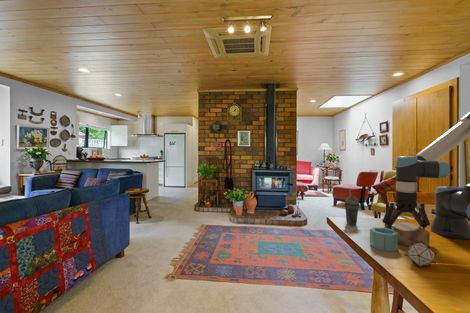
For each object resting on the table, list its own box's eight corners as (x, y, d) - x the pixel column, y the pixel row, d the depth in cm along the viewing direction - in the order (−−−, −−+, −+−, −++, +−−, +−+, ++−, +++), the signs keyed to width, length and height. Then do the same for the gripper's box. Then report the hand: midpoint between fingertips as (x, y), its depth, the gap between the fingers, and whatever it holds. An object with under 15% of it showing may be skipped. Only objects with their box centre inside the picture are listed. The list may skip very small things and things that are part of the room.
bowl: (389, 243, 100) (389, 227, 100) (401, 252, 91) (401, 235, 91) (366, 242, 101) (367, 226, 101) (377, 251, 92) (377, 234, 92)
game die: (415, 276, 81) (395, 251, 82) (419, 260, 86) (400, 237, 88) (444, 274, 74) (422, 247, 76) (446, 256, 80) (426, 231, 81)
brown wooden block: (409, 235, 109) (409, 222, 109) (429, 246, 97) (429, 231, 96) (384, 234, 111) (384, 221, 111) (400, 245, 98) (401, 230, 98)
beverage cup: (361, 227, 122) (361, 189, 122) (346, 226, 123) (346, 188, 123) (356, 223, 129) (357, 187, 129) (342, 222, 130) (343, 186, 130)
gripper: (428, 190, 106) (428, 238, 106) (374, 189, 108) (373, 236, 109) (441, 193, 98) (440, 244, 99) (382, 191, 101) (381, 242, 101)
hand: (405, 240), depth 104 cm, fingers closed on brown wooden block, 11 cm apart
